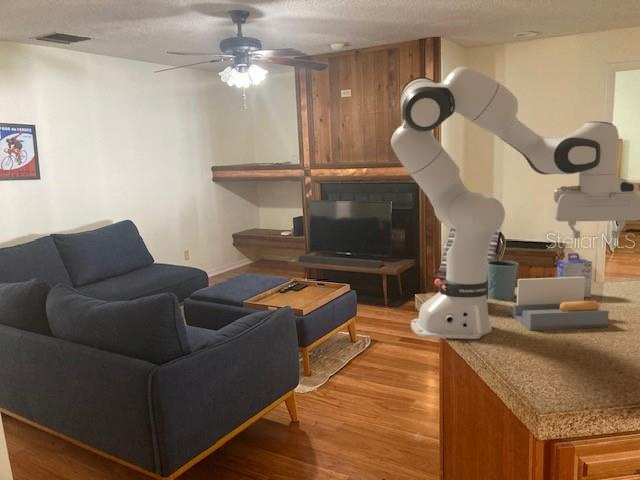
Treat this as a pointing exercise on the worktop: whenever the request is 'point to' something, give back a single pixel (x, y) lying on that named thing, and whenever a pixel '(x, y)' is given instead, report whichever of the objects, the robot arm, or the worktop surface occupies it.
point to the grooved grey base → (557, 317)
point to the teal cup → (502, 279)
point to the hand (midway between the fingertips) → (595, 237)
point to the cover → (550, 290)
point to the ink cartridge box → (576, 270)
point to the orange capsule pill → (579, 306)
